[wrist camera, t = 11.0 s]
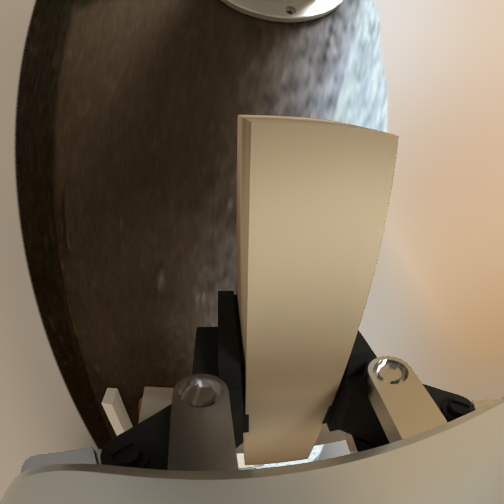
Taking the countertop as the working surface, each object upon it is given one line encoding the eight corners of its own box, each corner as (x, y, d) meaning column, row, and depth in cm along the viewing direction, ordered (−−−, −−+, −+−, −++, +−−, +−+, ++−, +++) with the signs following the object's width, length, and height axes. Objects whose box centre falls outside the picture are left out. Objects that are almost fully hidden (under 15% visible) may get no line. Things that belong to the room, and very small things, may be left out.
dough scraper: (88, 126, 7) (3, 151, 4) (438, 138, 8) (527, 170, 5) (149, 398, 13) (140, 470, 9) (368, 383, 14) (394, 445, 10)
